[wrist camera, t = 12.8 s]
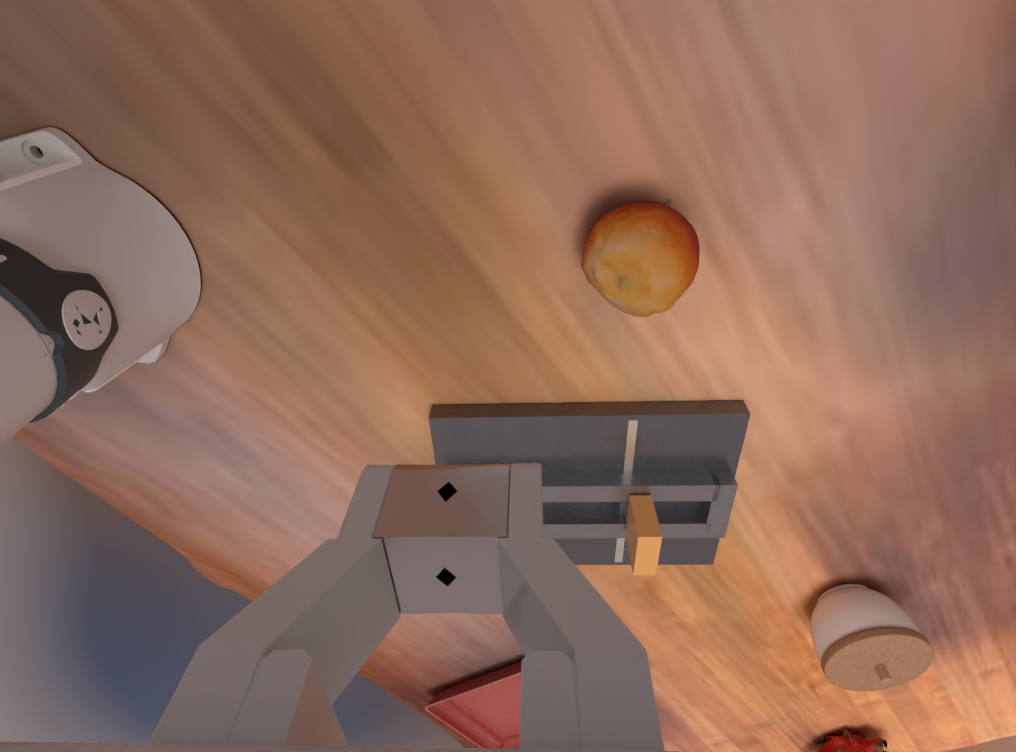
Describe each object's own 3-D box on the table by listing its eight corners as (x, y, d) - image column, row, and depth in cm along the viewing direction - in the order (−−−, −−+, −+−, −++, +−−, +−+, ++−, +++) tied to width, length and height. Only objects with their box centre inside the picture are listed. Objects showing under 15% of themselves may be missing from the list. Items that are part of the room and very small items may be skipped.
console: (452, 549, 62) (448, 580, 59) (432, 404, 51) (425, 432, 48) (707, 549, 61) (718, 580, 57) (742, 400, 50) (758, 428, 47)
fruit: (729, 262, 41) (697, 327, 37) (633, 276, 47) (595, 335, 42) (699, 159, 37) (660, 217, 33) (598, 187, 43) (552, 241, 38)
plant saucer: (425, 685, 79) (421, 710, 76) (530, 645, 73) (530, 671, 70) (500, 737, 87) (499, 761, 84) (601, 705, 80) (604, 730, 78)
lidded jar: (879, 625, 67) (925, 706, 60) (788, 628, 68) (821, 708, 60) (905, 568, 62) (960, 649, 54) (805, 572, 62) (844, 652, 55)
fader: (622, 517, 55) (633, 575, 50) (626, 480, 53) (638, 537, 47) (642, 516, 55) (655, 575, 50) (647, 479, 52) (662, 536, 47)
